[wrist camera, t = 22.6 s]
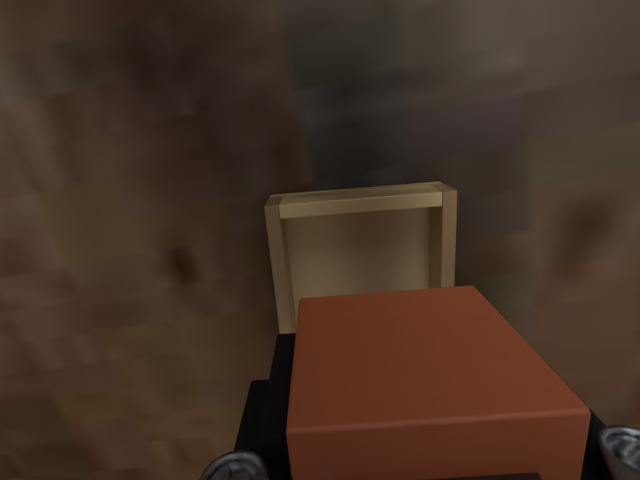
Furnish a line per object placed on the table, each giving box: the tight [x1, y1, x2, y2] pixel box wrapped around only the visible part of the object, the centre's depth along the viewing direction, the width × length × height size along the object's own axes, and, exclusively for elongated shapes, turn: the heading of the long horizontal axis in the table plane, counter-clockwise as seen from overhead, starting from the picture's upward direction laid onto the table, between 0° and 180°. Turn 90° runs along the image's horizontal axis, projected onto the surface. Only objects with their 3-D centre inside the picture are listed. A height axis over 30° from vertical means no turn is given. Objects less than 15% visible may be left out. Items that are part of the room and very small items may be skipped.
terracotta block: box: [286, 286, 591, 480], centre depth 9 cm, size 5×5×5 cm
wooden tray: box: [264, 181, 457, 334], centre depth 20 cm, size 8×22×2 cm, turn 4°
